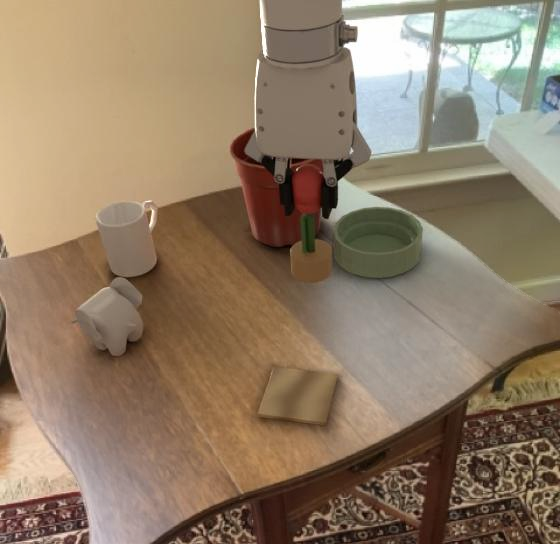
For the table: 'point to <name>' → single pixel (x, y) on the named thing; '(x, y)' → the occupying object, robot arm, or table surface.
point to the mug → (128, 237)
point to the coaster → (298, 396)
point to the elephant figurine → (112, 316)
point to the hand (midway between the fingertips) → (309, 209)
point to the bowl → (377, 242)
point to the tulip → (309, 228)
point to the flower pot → (268, 197)
